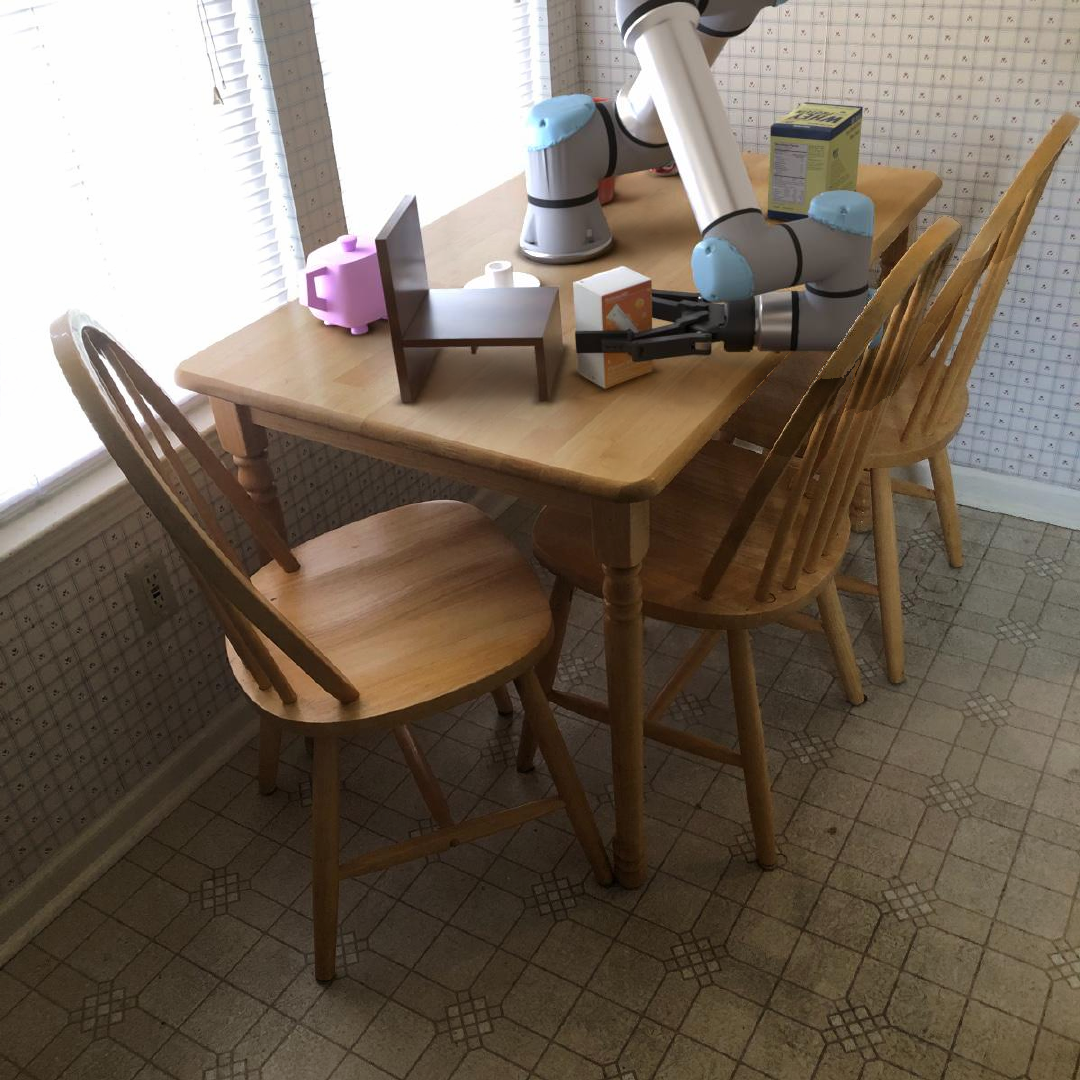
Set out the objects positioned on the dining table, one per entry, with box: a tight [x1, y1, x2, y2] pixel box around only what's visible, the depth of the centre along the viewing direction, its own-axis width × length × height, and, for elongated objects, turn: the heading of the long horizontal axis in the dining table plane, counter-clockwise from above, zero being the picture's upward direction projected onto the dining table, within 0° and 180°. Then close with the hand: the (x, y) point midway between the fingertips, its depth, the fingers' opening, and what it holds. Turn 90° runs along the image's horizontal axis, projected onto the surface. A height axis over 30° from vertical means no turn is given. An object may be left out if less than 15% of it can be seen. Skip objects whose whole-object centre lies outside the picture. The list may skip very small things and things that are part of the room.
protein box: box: [766, 101, 864, 222], centre depth 189 cm, size 10×16×16 cm
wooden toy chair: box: [374, 194, 564, 403], centre depth 145 cm, size 16×19×22 cm
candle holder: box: [463, 260, 541, 289], centre depth 173 cm, size 12×12×4 cm
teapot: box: [297, 234, 388, 335], centre depth 166 cm, size 20×12×13 cm, turn 139°
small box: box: [572, 265, 654, 390], centre depth 145 cm, size 8×6×13 cm
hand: (580, 324), depth 145 cm, fingers closed on small box, 10 cm apart
